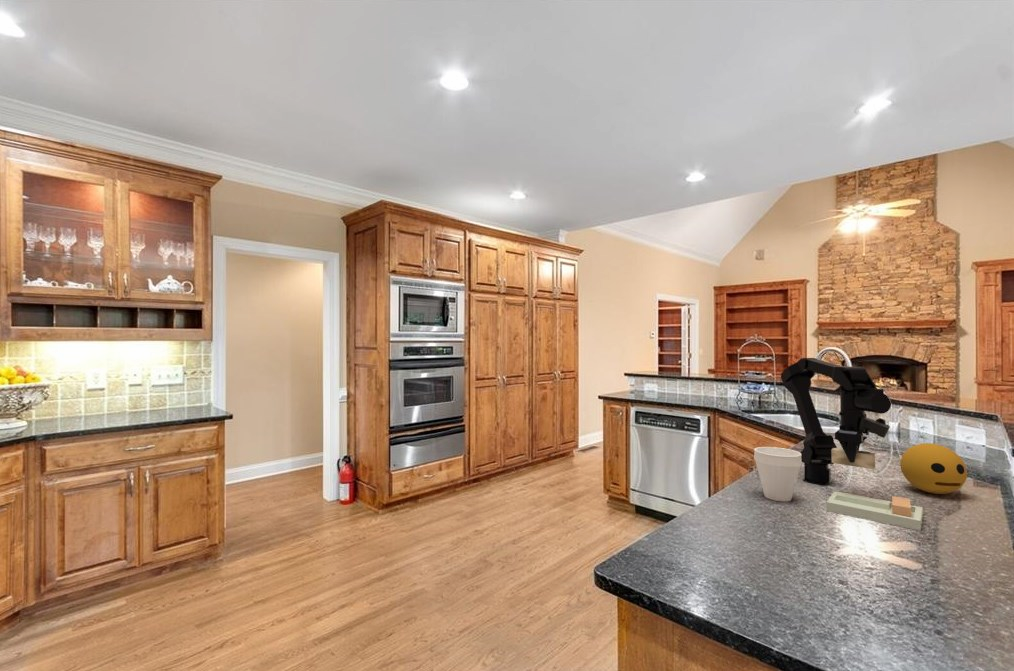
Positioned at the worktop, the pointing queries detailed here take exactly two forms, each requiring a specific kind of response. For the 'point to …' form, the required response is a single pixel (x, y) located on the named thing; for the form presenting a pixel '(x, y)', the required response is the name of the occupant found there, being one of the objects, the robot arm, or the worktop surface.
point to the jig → (873, 510)
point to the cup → (777, 471)
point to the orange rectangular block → (901, 506)
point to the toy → (933, 468)
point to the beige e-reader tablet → (861, 459)
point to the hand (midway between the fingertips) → (853, 461)
